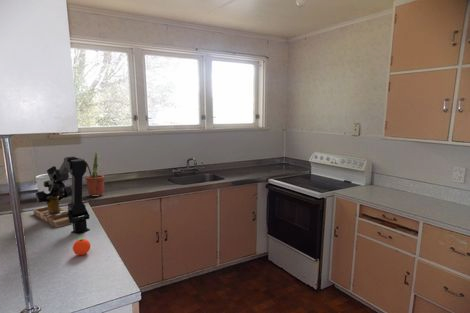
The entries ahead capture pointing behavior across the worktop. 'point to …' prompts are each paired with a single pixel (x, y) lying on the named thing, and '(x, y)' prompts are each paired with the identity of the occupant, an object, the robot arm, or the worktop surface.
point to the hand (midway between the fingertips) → (52, 201)
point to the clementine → (81, 246)
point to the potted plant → (95, 179)
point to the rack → (53, 217)
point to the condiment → (53, 206)
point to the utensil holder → (40, 182)
